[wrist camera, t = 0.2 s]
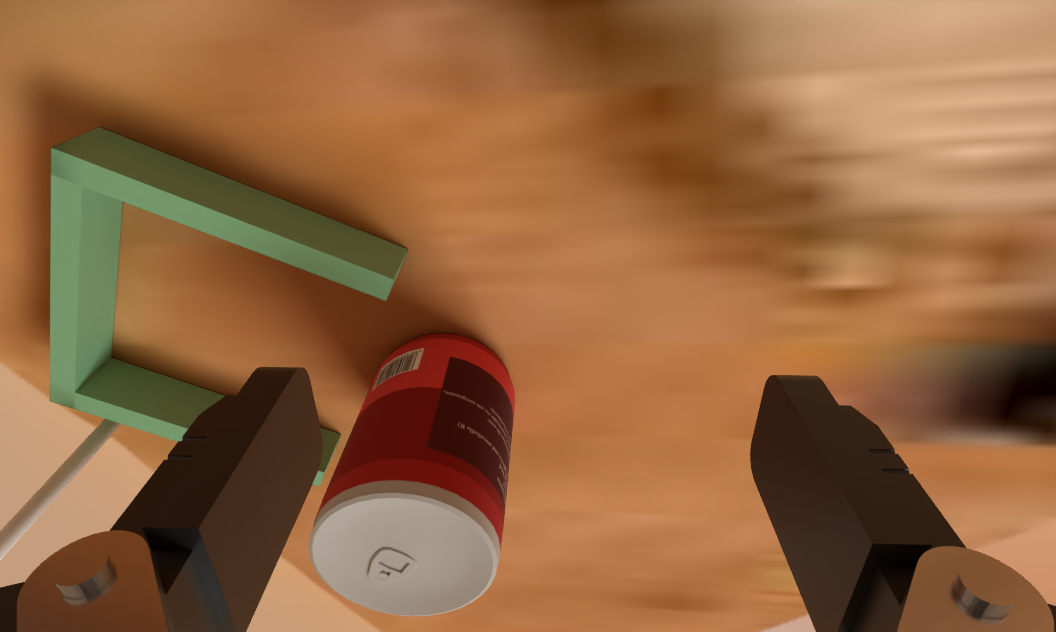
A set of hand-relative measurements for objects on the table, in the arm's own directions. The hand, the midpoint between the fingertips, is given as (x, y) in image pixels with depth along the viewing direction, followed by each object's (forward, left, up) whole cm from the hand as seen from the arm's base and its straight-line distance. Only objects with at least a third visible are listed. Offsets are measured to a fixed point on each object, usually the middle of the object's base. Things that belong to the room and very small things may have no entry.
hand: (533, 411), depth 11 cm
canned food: (+14, -5, -18) cm, 24 cm away
